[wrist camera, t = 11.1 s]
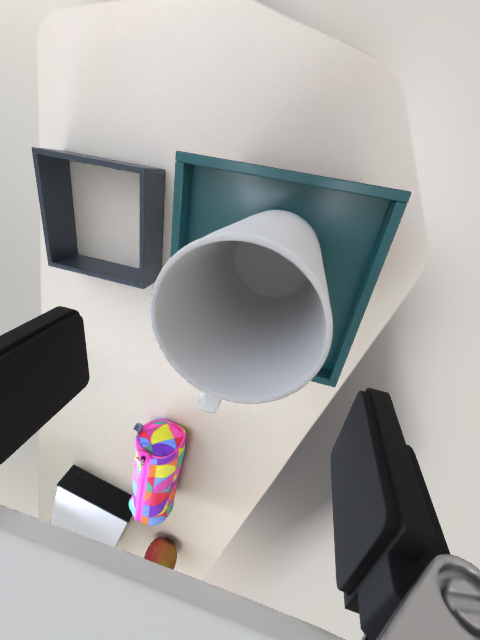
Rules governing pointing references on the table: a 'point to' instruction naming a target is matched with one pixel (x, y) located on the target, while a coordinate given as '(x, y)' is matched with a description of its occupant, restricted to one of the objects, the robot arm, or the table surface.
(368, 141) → the table surface
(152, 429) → the pencil case
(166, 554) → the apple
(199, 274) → the mug
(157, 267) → the dark gray square frame
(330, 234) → the tray
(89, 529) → the disc drive
